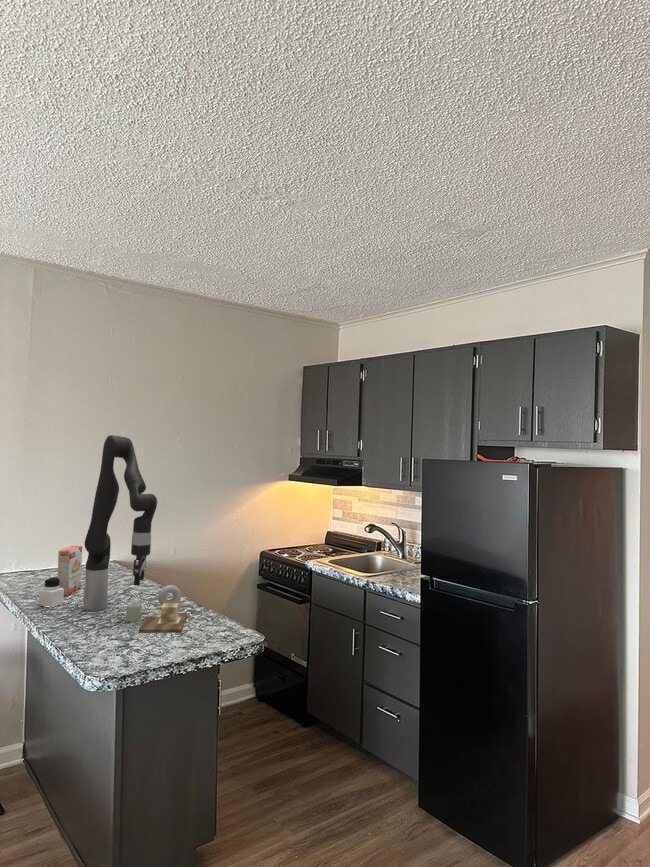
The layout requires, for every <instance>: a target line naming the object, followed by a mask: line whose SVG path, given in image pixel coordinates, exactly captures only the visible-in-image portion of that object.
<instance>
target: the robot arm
mask: <svg viewBox="0 0 650 867" xmlns="http://www.w3.org/2000/svg"><path fill="white" fill-rule="evenodd" d="M136 455H137V454H136V450H135V447H134V444H133V442H132V440H131V439H130V438H129V437H125V436H120V435H119V436H118V435H114V434H112V435H108V436H107V437H106V438H105V440H104V443H103V448H102V454H101V466H100V471H99V475H98V476H99V477H98V480H97V486H96V489H95V494H94V499H93V500H94V501H93V506H92V512H91V520H90V523H89V527H88V529H87V534H86V536H85V539H84V548H85V551H86V552H87V553H88V555H87V559H86V562H85V582H84V587H83V599H82V600H83V601H82V602H83V604H82V605H83V606H82V610H83V611H88V610H89V611H88V612H97V611H102V610H103V611H104V610H106V609H107V608H108V597H109V596H108V593H109V591H108V590H109V589H108V588H109V564H110V560H111V544H112V543H111V537H110V535H109V533H108V527H109V523H110V520H111V518H112V515H113V513H114V511H115V509H116V506H117V502H118V498H119V493H120V486H119V481H118V479H117V477H116V474H115V470H114V463H115V458H117V459H118V458H119V459H123V461H124V462H125V464H126V465H125V469H124V472H123V473H124V474H123V478H124V483H125V485H126V488H127V490H128V494H129V505H130V508H131V509H132V510H133V511H134V512H142V515H140V516H137V517H135V518H134V519H133V529H132V535H131V550H130V554H131V555H132V556H135V559H134V560H133V568H132V569H133V572H132V576H134V577H133V578H134V580H133V585H134V586H140V584H141V581H144V580H145V571H146V568H147V557H148V556H150V555H151V545H152V521H153V519H154V515H155V512H156V510H157V505H158V499H157V497H156V495H155V494H153V493H144V492H145V491H146V490H147V485H146V483H145V480H144V478H143V476H142V474H141V471H140V469H139V465H138V461H137V456H136Z"/></svg>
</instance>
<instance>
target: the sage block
mask: <svg viewBox="0 0 650 867" xmlns="http://www.w3.org/2000/svg"><path fill="white" fill-rule="evenodd" d="M125 612H126V615H125V622H126V623H127V622H128V623H129V621H130V623H131V622H133V623H135V622H136V623H137V622H140V621H141V619H142V603H128V604H127V606H126V611H125Z"/></svg>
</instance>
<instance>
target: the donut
mask: <svg viewBox="0 0 650 867" xmlns="http://www.w3.org/2000/svg"><path fill="white" fill-rule="evenodd" d="M168 594H172V598H171V599H167V595H168ZM181 598H182V593H181V590H180V588H179V587H177V586H176V585H174V584H168V585H164V586H163V587H162V589H160V590H159V592H158V596H157V600H158V603H159V605H161V606H162V605H163V603H178V604H179V602H180V601H181Z"/></svg>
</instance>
